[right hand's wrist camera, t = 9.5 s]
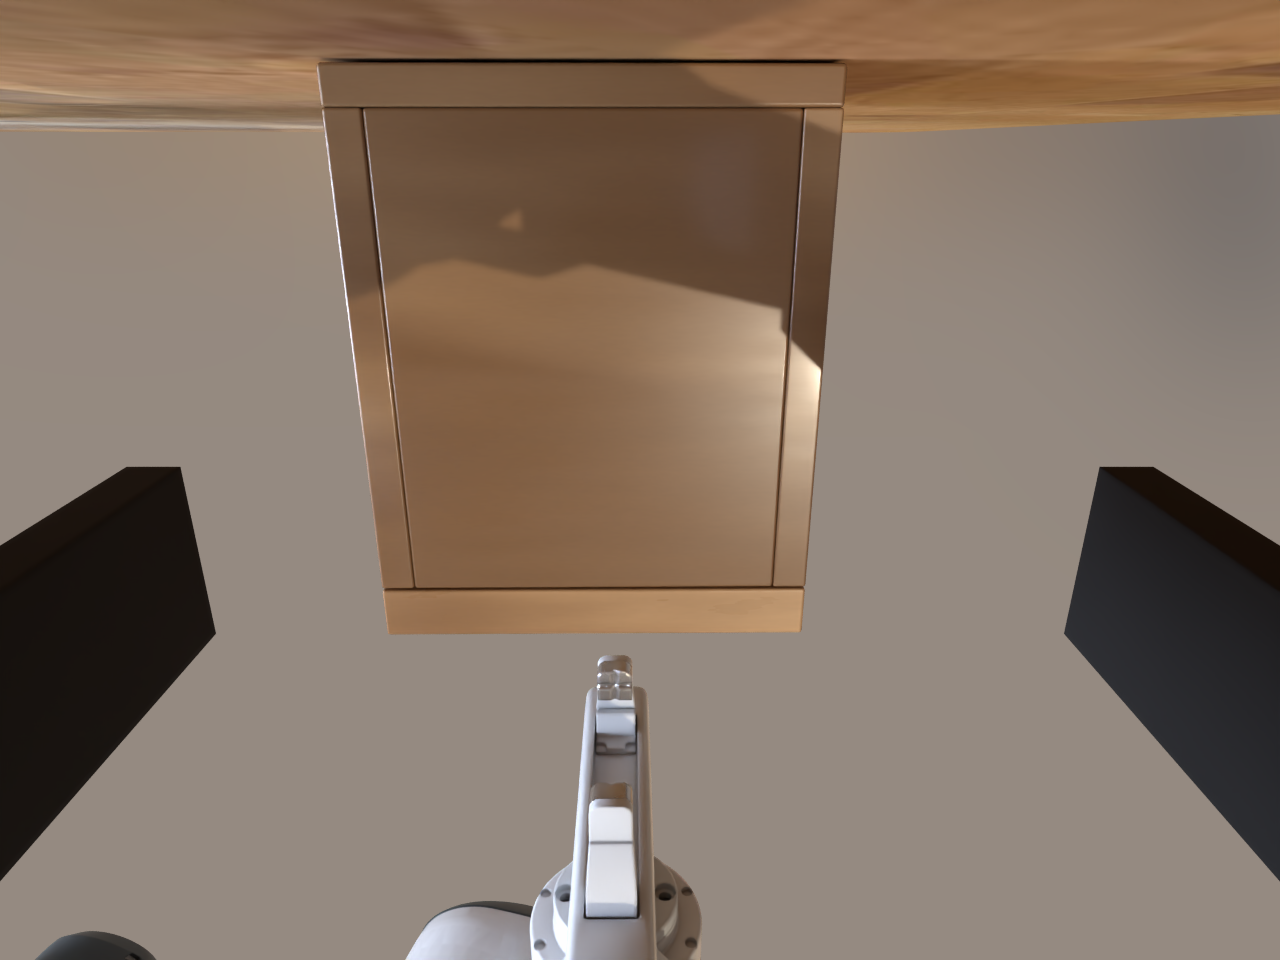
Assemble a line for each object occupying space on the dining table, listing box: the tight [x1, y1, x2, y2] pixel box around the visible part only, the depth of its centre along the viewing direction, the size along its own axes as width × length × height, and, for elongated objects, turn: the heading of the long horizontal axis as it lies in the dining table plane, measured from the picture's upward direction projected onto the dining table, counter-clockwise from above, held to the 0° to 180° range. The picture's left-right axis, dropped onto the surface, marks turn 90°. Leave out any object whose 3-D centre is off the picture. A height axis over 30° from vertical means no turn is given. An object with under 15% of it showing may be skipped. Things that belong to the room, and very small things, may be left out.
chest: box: [316, 62, 847, 588], centre depth 25 cm, size 16×10×11 cm, turn 179°
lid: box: [383, 584, 805, 634], centre depth 29 cm, size 17×10×8 cm, turn 179°
